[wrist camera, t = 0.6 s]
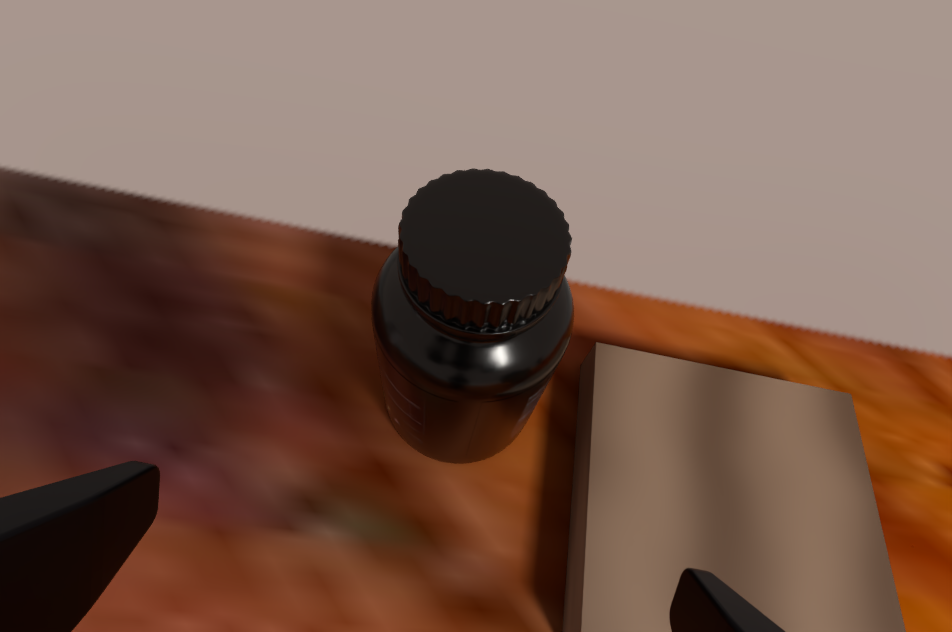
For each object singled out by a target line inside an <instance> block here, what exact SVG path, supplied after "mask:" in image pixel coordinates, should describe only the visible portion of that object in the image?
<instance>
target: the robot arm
mask: <svg viewBox="0 0 952 632" xmlns="http://www.w3.org/2000/svg"><path fill="white" fill-rule="evenodd" d="M159 483H160V471H159V468H158V467H157V466H156V465H153V464H148V463H143V462H138V461H130V462H126V463H122V464H119V465H115V466H112V467H108V468H105V469H101V470H98V471H94V472H91V473H87V474H83V475H80V476H76V477H73V478H69V479H66V480H62V481H59V482H55V483H52V484H48V485H44V486H41V487H37V488H34V489H30V490H27V491H23V492H20V493H16V494H13V495H9V496H5V497H2V498H0V632H71V631H72V630H73V629H74V628H75V627H76V626H77V624H78V623H79V622H80V621H81V620H82V618H83V617H84V616H85V615H86V614H87V612H88V611H89V610H90V609H91V608H92V606H93V605H94V604H95V602H96V601H97V600H98V598H99V597H100V596H101V594H102V593H103V592H104V590H105V589H106V587H107V586H108V585H109V583H110V582H111V580H112V579H113V578H114V576H115V575H116V573H117V572H118V571H119V569H120V568H121V566H122V565H123V564H124V562H125V561H126V559H127V558H128V557H129V555H130V554H131V553H132V551H133V550H134V548H135V547H136V546H137V544H138V543H139V541H140V540H141V539H142V537H143V536H144V534H145V533H146V532H147V530H148V529H149V527H150V526H151V524H152V523H153V521H154V519H155V517H156V514H157V510H158V499H159ZM669 619H670V626H671V631H672V632H785V631H784V630H783V629H782V628H780V627H779V626H778V625H777V624H775V623H774V622H773V621H772V620H770V619H769V618H768V617H767V616H765V615H764V614H763V613H762V612H760V611H759V610H758V609H757V608H755V607H754V606H753V605H752V604H750V603H749V602H748V601H747V600H745V599H744V598H743V597H742V596H740V595H739V594H738V593H737V592H735V591H734V590H733V589H732V588H730V587H729V586H728V585H727V584H725V583H724V582H723V581H722V580H720V579H719V578H718V577H717V576H715V575H714V574H713V573H711V572H709V571H705V570H700V569H694V568H686V569H684V570H683V572H682V574H681V576H680V579H679V582H678V585H677V588H676V591H675V594H674V597H673V600H672V603H671V606H670V612H669Z"/></svg>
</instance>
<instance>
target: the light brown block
mask: <svg viewBox="0 0 952 632" xmlns="http://www.w3.org/2000/svg"><path fill="white" fill-rule="evenodd" d="M686 568H694V569H700V570H705V571H709V572H711V573H713V574H714V575H715V576H717V577H718V578H719V579H720V580H722V581H723V582H724V583H725V584H727V585H728V586H729V587H730V588H732V589H733V590H734V591H735V592H737V593H738V594H739V595H740V596H742V597H743V598H744V599H745V600H747V601H748V602H749V603H750V604H752V605H753V606H754V607H755V608H757V609H758V610H759V611H760V612H762V613H763V614H764V615H765V616H767V617H768V618H769V619H770V620H772V621H773V622H774V623H775V624H777V625H778V626H779V627H780V628H782V629H783V630H784V631H785V632H906V631H905V627H904V622H903V618H902V614H901V609H900V605H899V600H898V596H897V592H896V587H895V583H894V579H893V574H892V570H891V566H890V561H889V557H888V553H887V548H886V544H885V540H884V535H883V531H882V527H881V522H880V518H879V514H878V509H877V505H876V501H875V496H874V492H873V488H872V483H871V479H870V475H869V470H868V466H867V462H866V457H865V453H864V449H863V444H862V440H861V436H860V431H859V427H858V423H857V418H856V414H855V410H854V405H853V401H852V397H851V394H848V393H843V392H838V391H833V390H828V389H824V388H819V387H814V386H809V385H804V384H799V383H794V382H789V381H784V380H779V379H774V378H770V377H765V376H760V375H755V374H750V373H745V372H740V371H735V370H730V369H725V368H721V367H716V366H711V365H706V364H701V363H696V362H691V361H686V360H681V359H676V358H671V357H667V356H662V355H657V354H652V353H647V352H642V351H637V350H632V349H627V348H622V347H618V346H613V345H608V344H603V343H598V342H596V343H595V345H594V346H593V348H592V349H591V351H590V352H589V354H588V355H587V357H586V358H585V359H584V361H583V362H582V364H581V367H580V382H579V397H578V411H577V426H576V440H575V455H574V470H573V484H572V499H571V514H570V528H569V543H568V558H567V572H566V587H565V601H564V616H563V631H562V632H672V631H671V626H670V619H669V612H670V606H671V603H672V600H673V597H674V594H675V591H676V588H677V585H678V582H679V579H680V576H681V574H682V572H683V570H684V569H686Z"/></svg>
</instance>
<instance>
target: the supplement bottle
mask: <svg viewBox="0 0 952 632" xmlns="http://www.w3.org/2000/svg"><path fill="white" fill-rule="evenodd" d="M398 229H399V240H398V247H397V248H396V249H395V250H394V251H393V252H392V253H391V254H390V256H389V257H388V258H387V259H386V261H385V263H384V264H383V266H382V267H381V269H380V271H379V274H378V276H377V278H376V281H375V284H374V288H373V293H372V301H371V311H372V324H373V331H374V337H375V343H376V349H377V355H378V362H379V368H380V374H381V380H382V386H383V392H384V398H385V402H386V407H387V411H388V414H389V416H390V419H391V421H392V423H393V425H394V427H395V428H396V430H397V432H398V433H399V434H400V436H401V437H402V438H403V439H404V440H405V441H406V442H407V443H408V444H409V445H410V446H411V447H413V448H414V449H415V450H417V451H418V452H420V453H422V454H423V455H425V456H427V457H430V458H432V459H435V460H438V461H442V462H447V463H459V464H463V463H472V462H477V461H481V460H484V459H487V458H489V457H492V456H494V455H495V454H497V453H499V452H501V451H502V450H503V449H505V448H506V447H507V446H508V445H510V444H511V443H512V442H513V440H514V439H515V438H516V437H517V436H518V435H519V433H520V432H521V430H522V429H523V427H524V426H525V424H526V422H527V421H528V419H529V417H530V415H531V414H532V412H533V410H534V408H535V406H536V405H537V403H538V401H539V399H540V397H541V395H542V394H543V392H544V390H545V388H546V386H547V384H548V383H549V381H550V379H551V377H552V375H553V374H554V372H555V370H556V368H557V366H558V364H559V363H560V361H561V359H562V357H563V355H564V353H565V351H566V348H567V346H568V343H569V340H570V337H571V334H572V330H573V323H574V305H573V298H572V294H571V290H570V287H569V284H568V281H567V279H566V277H565V275H564V274H565V272H566V269H567V264H568V261H569V259H570V256H571V248H570V245H571V241H572V238H571V235H570V234H569V232H568V231H569V224H568V223H567V222H566V220H565V219H564V213H563V212H562V211H561V210H560V209H559V208H558V207H557V204H556V202H555V201H554V200H553V199H551V198H549V197H548V195H547V194H546V192H545V191H543V190H541V189H538V188H537V187H536V186H535V185H534V184H533V183H531V182H528V181H524V180H523V179H522V178H520V177H519V176H513V175H509V174H507V173H505V172H496V171H493V170H490V169H484V170H478V169H469V170H466V171H462V170H457V171H455V172H453V173H452V174H443V175H442V176H440V178H438V179H435V180H431V181H429V182H428V184H427V185H426V186H425V187H422V188H420V189H418V191H417V193H416V195H415V196H413V197H411V198H410V199H409V203H408V206H407V207H406V208H405V209H404V210H403V212H402V220H401V222H400V223H399V227H398Z"/></svg>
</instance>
